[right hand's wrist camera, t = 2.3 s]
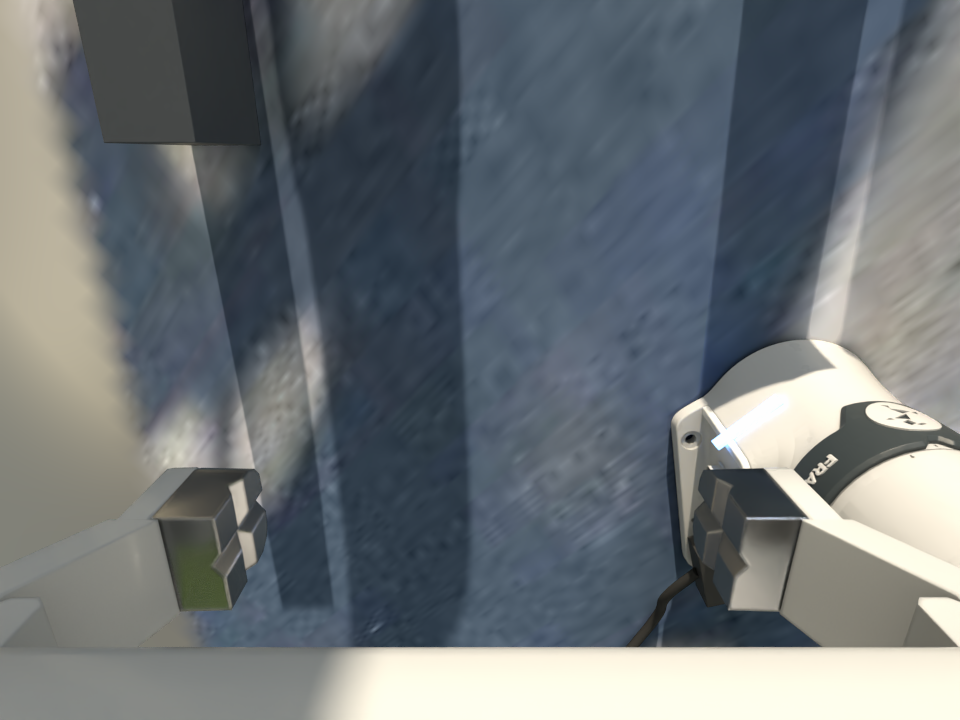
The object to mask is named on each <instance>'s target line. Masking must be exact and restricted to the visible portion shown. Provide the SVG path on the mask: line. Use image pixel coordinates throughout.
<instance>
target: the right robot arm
mask: <svg viewBox="0 0 960 720" xmlns="http://www.w3.org/2000/svg"><path fill="white" fill-rule="evenodd" d="M671 430H672V442H673V453H674V465H675V476H676V487H677V499H678V510H679V522H680V533H681V544H682V553H683V556H684V558H685V559H686V561H687V562H688V564H689V565H691V566H693V569H691V570H690V571H689V572H687V573H686V574H685V575H683V576H682V577H681V578H679V579H678V580H677V581H675V582H674V583H673V584H672V585H671V586H669V587H668V588H667V589H666V590H665V591H664V592H663V593H662V594H661V595H660V597H659V598H658V601H657V606H656V609H655V610H654V612H653V614H652V615H651V616H650V618H649V619H648V621H647V622H646V623H645V624H644V626H643V627H642V628H641V629H640V631H639V632H638V633H637V634H636V635H635V637H634V638H633V639H632V640H631V641H630V643H629V644H628V645H627V646H626V647H139V646H140V645H141V644H143V643H144V642H145V641H146V640H148V639H149V638H150V637H151V636H153V635H154V634H155V633H157V632H158V631H159V630H160V629H162V628H163V627H164V626H166V625H167V624H168V623H169V622H171V621H172V620H173V619H175V618H176V617H177V616H178V615H180V611H215V610H232V608H233V606H234V605H235V603H236V601H237V599H238V597H239V596H240V594H241V592H242V590H243V588H244V587H245V585H246V583H247V575H246V570H247V569H249V568H250V567H252V566H253V565H255V564H256V563H258V561H259V559H260V557H261V555H262V553H263V551H264V546H265V542H266V538H267V517H266V511H265V510H264V509H263V508H262V507H261V505H260V504H259V503H258V502H257V501H256V499H257V497H258V496H259V494H260V493H261V491H262V486H261V481H260V476H259V473H258V472H257V471H256V470H255V469H235V468H198V467H192V468H171V469H167V470H166V471H165V472H164V473H163V474H162V475H161V476H160V477H159V478H158V479H157V480H156V481H155V482H154V483H153V484H152V485H151V486H150V487H149V488H148V489H147V490H146V491H145V492H144V493H143V494H142V495H141V496H140V497H139V498H138V499H137V500H136V501H135V502H134V503H133V504H132V505H131V506H130V507H129V508H128V509H127V510H126V511H125V512H124V513H123V514H122V515H121V516H120V517H119V518H118V519H108V520H105V521H103V522H101V523H99V524H96V525H94V526H92V527H90V528H87V529H85V530H83V531H81V532H78V533H76V534H74V535H72V536H69V537H67V538H65V539H63V540H61V541H58V542H56V543H54V544H51V545H49V546H47V547H45V548H42V549H40V550H38V551H36V552H33V553H31V554H29V555H27V556H24V557H22V558H20V559H18V560H15V561H13V562H11V563H9V564H6V565H4V566H2V567H0V720H960V434H958V433H957V432H955V431H953V430H952V429H950V428H948V427H946V426H945V425H943V424H941V423H940V422H938V421H936V420H934V419H932V418H931V417H929V416H927V415H925V414H923V413H921V412H919V411H917V410H914V409H912V408H910V407H908V406H906V405H903V404H902V403H901V402H900V401H899V400H897V399H896V398H895V397H894V396H893V395H892V394H891V393H890V392H888V391H887V390H886V389H885V388H884V387H883V386H882V385H881V383H880V382H879V381H878V380H877V379H876V378H875V377H874V375H873V374H872V373H871V371H870V370H869V369H868V367H867V366H866V365H865V364H864V362H863V361H862V360H861V359H860V358H859V357H857V356H856V355H855V354H853V353H852V352H850V351H849V350H847V349H845V348H843V347H841V346H839V345H836V344H833V343H830V342H826V341H820V340H792V341H786V342H782V343H778V344H774V345H771V346H768V347H766V348H763V349H761V350H759V351H757V352H755V353H753V354H751V355H749V356H748V357H746V358H744V359H743V360H742V361H740V362H739V363H737V364H736V365H735V366H734V367H732V368H731V369H730V370H729V371H728V372H727V373H726V374H725V375H724V376H723V377H722V378H721V379H720V380H719V381H718V383H717V384H716V385H715V386H714V387H713V388H712V389H711V390H710V391H709V392H708V393H707V394H706V395H705V396H704V397H702V398H700V399H698V400H696V401H695V402H693V403H691V404H689V405H687V406H686V407H684V408H683V409H681V410H680V411H679V412H677V413H676V414H675V415H674V417H673V419H672V422H671ZM691 434H692V435H693V436H692V438H690V439H688V440H685V439H686V437H687V436H688V435H691ZM694 581H695V582H696V586H697V588H698V590H699V592H700V594H701V596H702V598H703V600H704V602H705V604H706V606H707V607H712V606H717V605H721V604H725V605H726V606H727V608H728V610H744V611H780V614H781V615H782V616H783V617H784V618H786V619H787V620H788V621H789V622H791V623H792V624H793V625H795V626H796V627H797V628H798V629H800V630H801V631H802V632H803V633H805V634H806V635H807V636H809V637H810V638H811V639H812V640H814V641H815V642H816V643H817V644H819V645H820V646H821V647H639V646H640V645H641V643H642V642H643V641H644V640H645V639H646V637H647V636H648V635H649V634H650V633H651V631H652V630H653V629H654V628H655V626H656V625H657V624H658V622H659V621H660V620H661V618H662V617H663V615H664V613H665V611H666V606H667V604H668V602H669V601H670V600H671V599H672V598H673V597H674V596H675V595H676V594H677V593H679V592H680V591H681V590H683V589H684V588H685V587H687V586H688V585H690V584H691V583H692V582H694Z"/></svg>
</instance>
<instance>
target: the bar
mask: <svg viewBox="0 0 960 720" xmlns="http://www.w3.org/2000/svg"><path fill="white" fill-rule="evenodd" d="M73 3H74V8H75V12H76V17H77V21H78V26H79V30H80V35H81V39H82V44H83V49H84V53H85V58H86V62H87V67H88V71H89V76H90V80H91V85H92V89H93V94H94V99H95V103H96V108H97V112H98V117H99V121H100V126H101V130H102V135H103V140H104V143H128V144H165V145H261V141H260V134H259V126H258V118H257V110H256V103H255V95H254V87H253V79H252V72H251V64H250V56H249V48H248V41H247V33H246V25H245V17H244V9H243V2H242V0H73Z"/></svg>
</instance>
